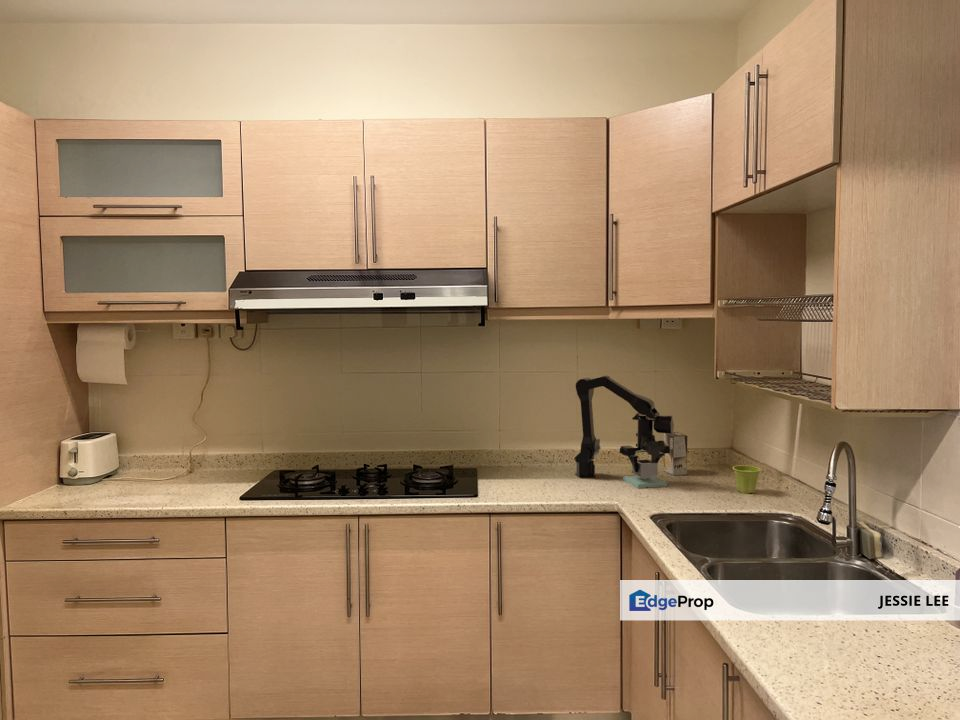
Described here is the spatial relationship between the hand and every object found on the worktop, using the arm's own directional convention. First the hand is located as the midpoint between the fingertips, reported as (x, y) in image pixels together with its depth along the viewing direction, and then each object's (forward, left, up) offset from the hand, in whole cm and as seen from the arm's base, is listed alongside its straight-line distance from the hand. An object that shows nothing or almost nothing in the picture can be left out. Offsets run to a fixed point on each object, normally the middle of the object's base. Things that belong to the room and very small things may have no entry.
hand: (644, 471), depth 240 cm
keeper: (0, 0, -4) cm, 5 cm away
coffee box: (+20, +12, -5) cm, 24 cm away
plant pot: (+30, -20, -5) cm, 36 cm away
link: (0, 0, -1) cm, 1 cm away
